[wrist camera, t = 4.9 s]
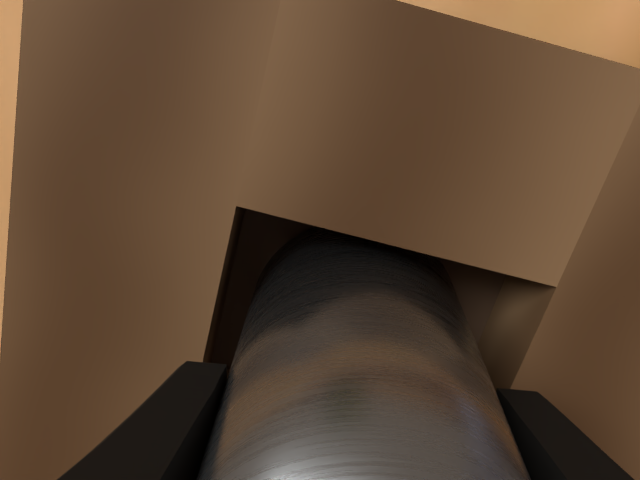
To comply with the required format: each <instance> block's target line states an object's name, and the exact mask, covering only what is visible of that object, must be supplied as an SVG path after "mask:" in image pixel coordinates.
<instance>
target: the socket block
mask: <svg viewBox="0 0 640 480" xmlns="http://www.w3.org/2000/svg"><path fill="white" fill-rule="evenodd" d="M316 226H317V227H321V228H325V229H329V230H333V231H337V232H341V233H345V234H349V235H353V236H357V237H361V238H365V239H369V240H373V241H377V242H380V243H384V244H388V245H392V246H396V247H400V248H404V249H408V250H412V251H416V252H420V253H424V254H428V255H432V256H436V257H437V258H438V259H439V260H440V261H441V263H442V264H443V266H444V267H445V269H446V271H447V272H448V275H449V277H450V279H451V282H452V284H453V286H454V289H455V291H456V294H457V296H458V299H459V301H460V304H461V306H462V309H463V311H464V314H465V316H466V319H467V321H468V324H469V326H470V329H471V331H472V334H473V336H474V339H475V341H476V344H477V346H478V349H479V351H480V354H481V356H482V359H483V361H484V364H485V366H486V369H487V371H488V374H489V376H490V378H491V381H492V383H493V386H494V388H495V391H496V389H497V388H503V389H515V390H526V391H537V392H539V393H540V394H541V395H542V396H543V397H545V398H546V399H547V400H548V401H549V402H550V403H552V404H553V405H554V406H555V407H556V408H557V409H558V410H559V411H560V412H562V413H563V414H564V415H565V416H566V417H567V418H568V419H569V420H570V421H571V422H572V423H573V424H575V425H576V426H577V427H578V428H579V429H580V430H581V431H582V432H583V433H584V434H585V435H586V436H587V437H589V438H590V439H591V440H592V441H593V442H594V443H595V444H596V445H597V446H598V447H599V448H600V449H601V450H603V451H604V452H605V453H606V454H607V455H608V456H609V457H610V458H611V459H612V460H613V461H614V462H616V463H617V464H618V465H619V466H620V467H621V468H622V469H623V470H624V471H625V472H627V473H628V474H629V475H630V476H631V477H632V478H633V479H634V480H640V69H639V68H635V67H632V66H628V65H625V64H621V63H617V62H614V61H610V60H607V59H603V58H600V57H596V56H592V55H589V54H585V53H582V52H578V51H575V50H571V49H567V48H564V47H560V46H557V45H553V44H550V43H546V42H543V41H539V40H535V39H532V38H528V37H525V36H521V35H518V34H514V33H510V32H507V31H503V30H500V29H496V28H493V27H489V26H486V25H482V24H478V23H475V22H471V21H468V20H464V19H461V18H457V17H453V16H450V15H446V14H443V13H439V12H436V11H432V10H428V9H425V8H421V7H418V6H414V5H411V4H407V3H404V2H400V1H396V0H23V13H22V28H21V44H20V59H19V74H18V90H17V105H16V121H15V136H14V152H13V167H12V183H11V198H10V214H9V229H8V245H7V260H6V276H5V291H4V306H3V322H2V337H1V353H0V480H57V479H58V478H59V477H60V476H62V475H63V474H64V473H65V472H66V471H68V470H69V469H70V468H71V467H73V466H74V465H75V464H76V463H77V462H79V461H80V460H81V459H82V458H83V457H85V456H86V455H87V454H88V453H89V452H90V451H91V450H93V449H94V448H95V447H96V446H97V445H98V444H99V443H100V442H101V441H103V440H104V439H105V438H106V437H107V436H108V435H109V434H110V433H111V432H112V431H113V430H115V429H116V428H117V427H118V426H119V425H120V424H121V423H122V422H123V421H124V420H125V419H127V418H128V417H129V416H130V415H131V414H132V413H133V412H134V411H135V410H136V409H137V408H138V407H139V406H140V405H141V404H142V403H143V402H144V401H145V400H146V399H147V398H148V397H149V396H150V395H151V394H152V393H153V392H154V391H155V390H156V389H158V387H159V386H160V385H161V384H162V383H163V382H164V381H165V380H166V379H167V378H168V377H169V376H170V375H171V374H172V373H173V372H174V371H175V370H176V369H177V368H178V367H179V366H181V365H182V364H183V363H185V362H186V361H194V362H205V363H217V364H227V378H228V375H229V371H230V368H231V365H232V362H233V358H234V355H235V352H236V349H237V345H238V342H239V339H240V336H241V332H242V329H243V326H244V322H245V319H246V316H247V313H248V309H249V306H250V303H251V300H252V296H253V293H254V290H255V287H256V284H257V281H258V279H259V276H260V275H261V273H262V271H263V269H264V267H265V266H266V264H267V263H268V262H269V260H270V259H271V257H272V256H273V255H274V254H275V253H276V252H277V251H278V250H279V249H280V248H281V247H282V246H283V245H285V244H286V243H287V242H288V241H290V240H291V239H292V238H294V237H296V236H297V235H299V234H301V233H303V232H304V231H307V230H309V229H311V228H314V227H316ZM226 381H227V379H226Z"/></svg>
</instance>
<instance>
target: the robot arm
mask: <svg viewBox="0 0 640 480" xmlns="http://www.w3.org/2000/svg"><path fill="white" fill-rule="evenodd" d="M226 379H227V364H217V363H205V362H194V361H186V362H185V363H183V364H182V365H181V366H179V367H178V368H177V369H176V370H175V371H174V372H173V373H172V374H171V375H170V376H169V377H168V378H167V379H166V380H165V381H164V382H163V383H162V384H161V385H160V386H159V387H158V389H156V390H155V391H154V392H153V393H152V394H151V395H150V396H149V397H148V398H147V399H146V400H145V401H144V402H143V403H142V404H141V405H140V406H139V407H138V408H137V409H136V410H135V411H134V412H133V413H132V414H131V415H130V416H129V417H128V418H127V419H125V420H124V421H123V422H122V423H121V424H120V425H119V426H118V427H117V428H116V429H115V430H113V431H112V432H111V433H110V434H109V435H108V436H107V437H106V438H105V439H104V440H103V441H101V442H100V443H99V444H98V445H97V446H96V447H95V448H94V449H93V450H91V451H90V452H89V453H88V454H87V455H86V456H85V457H83V458H82V459H81V460H80V461H79V462H77V463H76V464H75V465H74V466H73V467H71V468H70V469H69V470H68V471H66V472H65V473H64V474H63V475H62V476H60V477H59V478H58V479H57V480H196V479H197V476H198V472H199V469H200V466H201V463H202V459H203V456H204V453H205V450H206V446H207V443H208V440H209V437H210V433H211V430H212V427H213V424H214V420H215V417H216V414H217V410H218V407H219V404H220V401H221V397H222V394H223V391H224V388H225V384H226ZM496 393H497V396H498V398H499V401H500V403H501V406H502V408H503V411H504V413H505V416H506V418H507V421H508V423H509V426H510V428H511V431H512V433H513V436H514V438H515V441H516V443H517V446H518V448H519V451H520V453H521V456H522V458H523V461H524V463H525V466H526V468H527V471H528V473H529V476H530V478H531V480H634V479H633V478H632V477H631V476H630V475H629V474H628V473H627V472H625V471H624V470H623V469H622V468H621V467H620V466H619V465H618V464H617V463H616V462H614V461H613V460H612V459H611V458H610V457H609V456H608V455H607V454H606V453H605V452H604V451H603V450H601V449H600V448H599V447H598V446H597V445H596V444H595V443H594V442H593V441H592V440H591V439H590V438H589V437H587V436H586V435H585V434H584V433H583V432H582V431H581V430H580V429H579V428H578V427H577V426H576V425H575V424H573V423H572V422H571V421H570V420H569V419H568V418H567V417H566V416H565V415H564V414H563V413H562V412H560V411H559V410H558V409H557V408H556V407H555V406H554V405H553V404H552V403H550V402H549V401H548V400H547V399H546V398H545V397H543V396H542V395H541V394H540V393H539V392H537V391H526V390H515V389H503V388H497V389H496Z"/></svg>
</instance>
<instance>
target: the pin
mask: <svg viewBox="0 0 640 480" xmlns="http://www.w3.org/2000/svg"><path fill="white" fill-rule="evenodd" d="M196 480H531V478H530V476H529V473H528V471H527V468H526V466H525V463H524V461H523V458H522V456H521V453H520V451H519V448H518V446H517V443H516V441H515V438H514V436H513V433H512V431H511V428H510V426H509V423H508V421H507V418H506V416H505V413H504V411H503V408H502V406H501V403H500V401H499V398H498V396H497V393H496V391H495V388H494V386H493V383H492V381H491V378H490V376H489V374H488V371H487V369H486V366H485V364H484V361H483V359H482V356H481V354H480V351H479V349H478V346H477V344H476V341H475V339H474V336H473V334H472V331H471V329H470V326H469V324H468V321H467V319H466V316H465V314H464V311H463V309H462V306H461V304H460V301H459V299H458V296H457V294H456V291H455V289H454V286H453V284H452V282H451V279H450V277H449V275H448V272H447V271H446V269H445V267H444V266H443V264H442V263H441V261H440V260H439V259H438V258H437V257H436V256H432V255H428V254H424V253H420V252H416V251H412V250H408V249H404V248H400V247H396V246H392V245H388V244H384V243H380V242H377V241H373V240H369V239H365V238H361V237H357V236H353V235H349V234H345V233H341V232H337V231H333V230H329V229H325V228H321V227H317V226H316V227H314V228H311V229H309V230H307V231H304V232H303V233H301V234H299V235H297V236H296V237H294V238H292V239H291V240H290V241H288V242H287V243H286V244H285V245H283V246H282V247H281V248H280V249H279V250H278V251H277V252H276V253H275V254H274V255H273V256H272V257H271V259H270V260H269V262H268V263H267V264H266V266H265V267H264V269H263V271H262V273H261V275H260V276H259V279H258V281H257V284H256V287H255V290H254V293H253V296H252V300H251V303H250V306H249V309H248V313H247V316H246V319H245V322H244V326H243V329H242V332H241V336H240V339H239V342H238V345H237V349H236V352H235V355H234V358H233V362H232V365H231V368H230V371H229V375H228V378H227V381H226V384H225V388H224V391H223V394H222V397H221V401H220V404H219V407H218V410H217V414H216V417H215V420H214V424H213V427H212V430H211V433H210V437H209V440H208V443H207V446H206V450H205V453H204V456H203V459H202V463H201V466H200V469H199V472H198V476H197V479H196Z"/></svg>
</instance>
